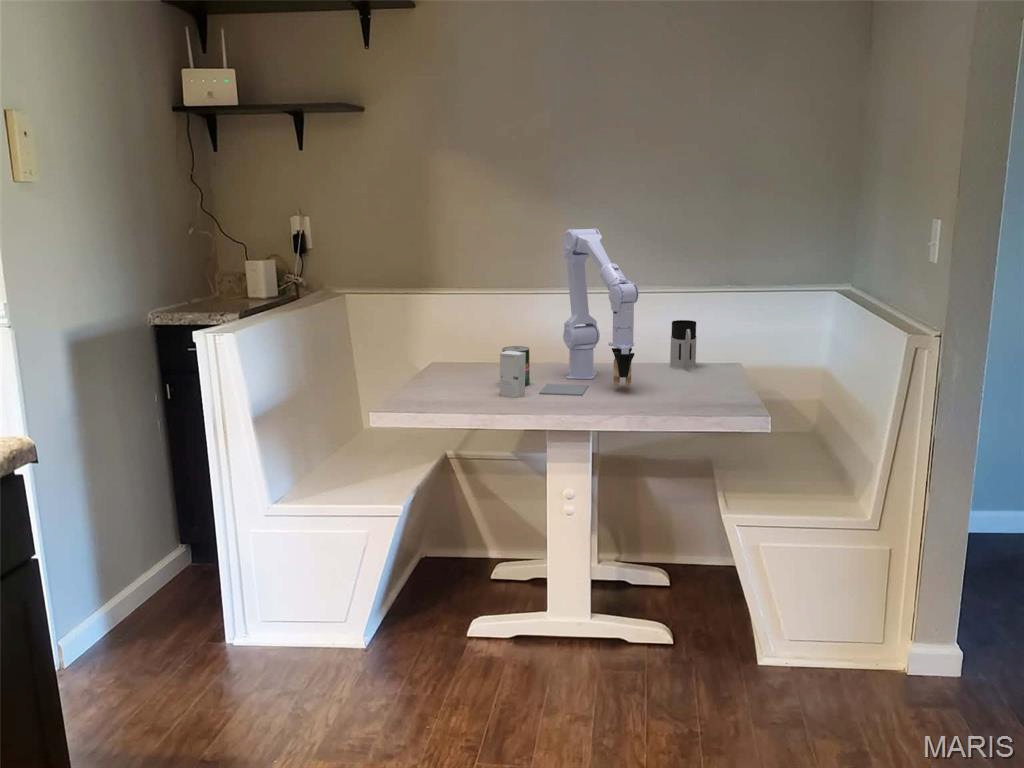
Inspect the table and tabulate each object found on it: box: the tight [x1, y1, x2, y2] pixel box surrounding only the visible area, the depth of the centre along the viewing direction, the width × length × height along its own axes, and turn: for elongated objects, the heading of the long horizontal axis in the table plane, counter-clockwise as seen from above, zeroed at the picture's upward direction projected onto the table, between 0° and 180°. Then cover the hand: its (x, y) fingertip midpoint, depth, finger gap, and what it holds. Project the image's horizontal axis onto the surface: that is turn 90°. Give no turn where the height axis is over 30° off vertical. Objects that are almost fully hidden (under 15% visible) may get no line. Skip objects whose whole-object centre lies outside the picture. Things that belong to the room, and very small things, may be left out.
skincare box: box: [499, 351, 526, 399], centre depth 234 cm, size 6×4×12 cm
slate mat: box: [538, 383, 589, 397], centre depth 240 cm, size 12×12×1 cm
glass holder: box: [669, 319, 697, 371], centre depth 265 cm, size 9×14×15 cm, turn 179°
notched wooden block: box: [612, 357, 633, 387], centre depth 238 cm, size 4×4×7 cm
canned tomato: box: [501, 345, 531, 388], centre depth 247 cm, size 8×8×11 cm
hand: (622, 375), depth 239 cm, fingers closed on notched wooden block, 5 cm apart
